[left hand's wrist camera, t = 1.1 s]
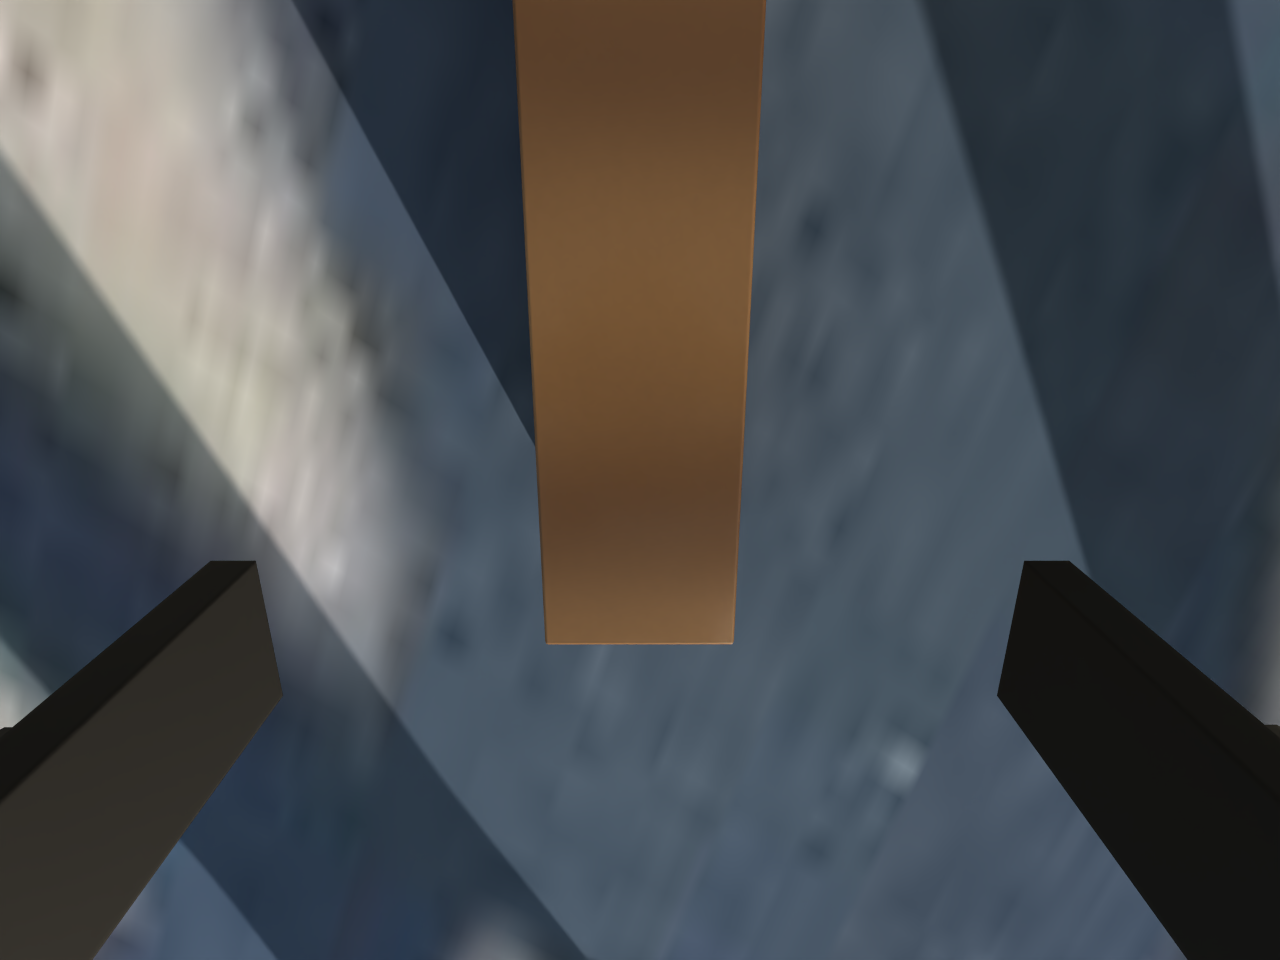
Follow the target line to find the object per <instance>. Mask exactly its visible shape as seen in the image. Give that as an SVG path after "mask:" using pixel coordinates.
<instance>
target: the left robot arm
mask: <svg viewBox="0 0 1280 960" xmlns="http://www.w3.org/2000/svg"><path fill="white" fill-rule="evenodd" d="M282 696H283V693H282V689H281V684H280V679H279V674H278V669H277V664H276V659H275V654H274V649H273V644H272V639H271V634H270V629H269V624H268V619H267V614H266V609H265V604H264V599H263V595H262V590H261V585H260V580H259V575H258V570H257V565H256V561H210V562H209V563H208V564H207V565H205V566H204V567H203V568H202V569H201V570H199V571H198V572H197V573H196V574H195V575H193V576H192V577H191V578H190V579H189V580H187V581H186V582H185V583H184V584H183V585H181V586H180V587H179V588H178V589H177V590H176V591H174V592H173V593H172V594H171V595H170V596H168V597H167V598H166V599H165V600H164V601H162V602H161V603H160V604H159V605H158V606H156V607H155V608H154V609H153V610H152V611H151V612H149V613H148V614H147V615H146V616H145V617H143V618H142V619H141V620H140V621H139V622H137V623H136V624H135V625H134V626H133V627H131V628H130V629H129V630H128V631H127V632H126V633H124V634H123V635H122V636H121V637H120V638H118V639H117V640H116V641H115V642H114V643H112V644H111V645H110V646H109V647H108V648H106V649H105V650H104V651H103V652H102V653H100V654H99V655H98V656H97V657H96V658H95V659H93V660H92V661H91V662H90V663H89V664H87V665H86V666H85V667H84V668H83V669H81V670H80V671H79V672H78V673H77V674H75V675H74V676H73V677H72V678H71V679H70V680H68V681H67V682H66V683H65V684H64V685H62V686H61V687H60V688H59V689H58V690H56V691H55V692H54V693H53V694H52V695H50V696H49V697H48V698H47V699H46V700H44V701H43V702H42V703H41V704H40V705H39V706H37V707H36V708H35V709H34V710H33V711H31V712H30V713H29V714H28V715H27V716H25V717H24V718H23V719H22V720H21V721H19V722H18V723H17V724H16V725H15V726H14V727H4V728H2V729H0V960H93V958H94V957H95V955H96V954H97V953H98V951H99V950H100V948H101V947H102V946H103V944H104V943H105V942H106V940H107V939H108V937H109V936H110V935H111V933H112V932H113V930H114V929H115V928H116V926H117V925H118V923H119V922H120V921H121V919H122V918H123V917H124V915H125V914H126V912H127V911H128V910H129V908H130V907H131V905H132V904H133V903H134V901H135V900H136V899H137V897H138V896H139V894H140V893H141V892H142V890H143V889H144V887H145V886H146V885H147V883H148V882H149V881H150V879H151V878H152V876H153V875H154V874H155V872H156V871H157V869H158V868H159V867H160V865H161V864H162V862H163V861H164V860H165V858H166V857H167V856H168V854H169V853H170V851H171V850H172V849H173V847H174V846H175V844H176V843H177V842H178V840H179V839H180V838H181V836H182V835H183V833H184V832H185V831H186V829H187V828H188V826H189V825H190V824H191V822H192V821H193V820H194V818H195V817H196V815H197V814H198V813H199V811H200V810H201V808H202V807H203V806H204V804H205V803H206V802H207V800H208V799H209V797H210V796H211V795H212V793H213V792H214V790H215V789H216V788H217V786H218V785H219V783H220V782H221V781H222V779H223V778H224V777H225V775H226V774H227V772H228V771H229V770H230V768H231V767H232V765H233V764H234V763H235V761H236V760H237V759H238V757H239V756H240V754H241V753H242V752H243V750H244V749H245V747H246V746H247V745H248V743H249V742H250V741H251V739H252V738H253V736H254V735H255V734H256V732H257V731H258V729H259V728H260V727H261V725H262V724H263V722H264V721H265V720H266V718H267V717H268V716H269V714H270V713H271V711H272V710H273V709H274V707H275V706H276V704H277V703H278V702H279V700H280V699H281V698H282ZM997 696H998V698H999V699H1000V700H1001V702H1002V703H1003V704H1004V706H1005V707H1006V709H1007V710H1008V711H1009V713H1010V714H1011V716H1012V717H1013V718H1014V720H1015V721H1016V722H1017V724H1018V725H1019V727H1020V728H1021V729H1022V731H1023V732H1024V734H1025V735H1026V736H1027V738H1028V739H1029V741H1030V742H1031V743H1032V745H1033V746H1034V747H1035V749H1036V750H1037V752H1038V753H1039V754H1040V756H1041V757H1042V759H1043V760H1044V761H1045V763H1046V764H1047V765H1048V767H1049V768H1050V770H1051V771H1052V772H1053V774H1054V775H1055V777H1056V778H1057V779H1058V781H1059V782H1060V783H1061V785H1062V786H1063V788H1064V789H1065V790H1066V792H1067V793H1068V795H1069V796H1070V797H1071V799H1072V800H1073V802H1074V803H1075V804H1076V806H1077V807H1078V808H1079V810H1080V811H1081V813H1082V814H1083V815H1084V817H1085V818H1086V820H1087V821H1088V822H1089V824H1090V825H1091V826H1092V828H1093V829H1094V831H1095V832H1096V833H1097V835H1098V836H1099V838H1100V839H1101V840H1102V842H1103V843H1104V844H1105V846H1106V847H1107V849H1108V850H1109V851H1110V853H1111V854H1112V856H1113V857H1114V858H1115V860H1116V861H1117V862H1118V864H1119V865H1120V867H1121V868H1122V869H1123V871H1124V872H1125V874H1126V875H1127V876H1128V878H1129V879H1130V881H1131V882H1132V883H1133V885H1134V886H1135V887H1136V889H1137V890H1138V892H1139V893H1140V894H1141V896H1142V897H1143V899H1144V900H1145V901H1146V903H1147V904H1148V905H1149V907H1150V908H1151V910H1152V911H1153V912H1154V914H1155V915H1156V917H1157V918H1158V919H1159V921H1160V922H1161V923H1162V925H1163V926H1164V928H1165V929H1166V930H1167V932H1168V933H1169V935H1170V936H1171V937H1172V939H1173V940H1174V942H1175V943H1176V944H1177V946H1178V947H1179V948H1180V950H1181V951H1182V953H1183V954H1184V955H1185V957H1186V958H1187V960H1280V726H1278V725H1264V724H1263V723H1262V722H1261V721H1259V720H1258V719H1257V718H1256V717H1255V716H1253V715H1252V714H1251V713H1250V712H1249V711H1247V710H1246V709H1245V708H1244V707H1243V706H1241V705H1240V704H1239V703H1238V702H1237V701H1236V700H1234V699H1233V698H1232V697H1231V696H1230V695H1228V694H1227V693H1226V692H1225V691H1224V690H1222V689H1221V688H1220V687H1219V686H1218V685H1216V684H1215V683H1214V682H1213V681H1212V680H1210V679H1209V678H1208V677H1207V676H1206V675H1205V674H1203V673H1202V672H1201V671H1200V670H1199V669H1197V668H1196V667H1195V666H1194V665H1193V664H1191V663H1190V662H1189V661H1188V660H1187V659H1185V658H1184V657H1183V656H1182V655H1181V654H1180V653H1178V652H1177V651H1176V650H1175V649H1174V648H1172V647H1171V646H1170V645H1169V644H1168V643H1166V642H1165V641H1164V640H1163V639H1162V638H1160V637H1159V636H1158V635H1157V634H1156V633H1154V632H1153V631H1152V630H1151V629H1150V628H1149V627H1147V626H1146V625H1145V624H1144V623H1143V622H1141V621H1140V620H1139V619H1138V618H1137V617H1135V616H1134V615H1133V614H1132V613H1131V612H1129V611H1128V610H1127V609H1126V608H1125V607H1124V606H1122V605H1121V604H1120V603H1119V602H1118V601H1116V600H1115V599H1114V598H1113V597H1112V596H1110V595H1109V594H1108V593H1107V592H1106V591H1104V590H1103V589H1102V588H1101V587H1100V586H1099V585H1097V584H1096V583H1095V582H1094V581H1093V580H1091V579H1090V578H1089V577H1088V576H1087V575H1085V574H1084V573H1083V572H1082V571H1081V570H1079V569H1078V568H1077V567H1076V566H1075V565H1073V564H1072V563H1071V562H1070V561H1024V565H1023V570H1022V575H1021V580H1020V585H1019V590H1018V595H1017V599H1016V604H1015V609H1014V614H1013V619H1012V624H1011V629H1010V634H1009V639H1008V644H1007V649H1006V654H1005V659H1004V664H1003V669H1002V674H1001V679H1000V684H999V689H998V693H997Z"/></svg>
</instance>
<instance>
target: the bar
mask: <svg viewBox="0 0 1280 960" xmlns="http://www.w3.org/2000/svg"><path fill="white" fill-rule="evenodd" d="M512 1H513V20H514V40H515V59H516V79H517V98H518V118H519V137H520V157H521V176H522V196H523V215H524V235H525V254H526V274H527V293H528V313H529V332H530V352H531V371H532V391H533V410H534V430H535V449H536V469H537V488H538V508H539V527H540V547H541V566H542V586H543V605H544V625H545V641H546V644H732V643H733V641H734V625H735V605H736V585H737V565H738V545H739V526H740V506H741V486H742V466H743V447H744V427H745V407H746V387H747V367H748V348H749V328H750V308H751V288H752V269H753V249H754V229H755V209H756V189H757V170H758V150H759V130H760V110H761V91H762V71H763V51H764V31H765V11H766V0H512Z"/></svg>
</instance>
